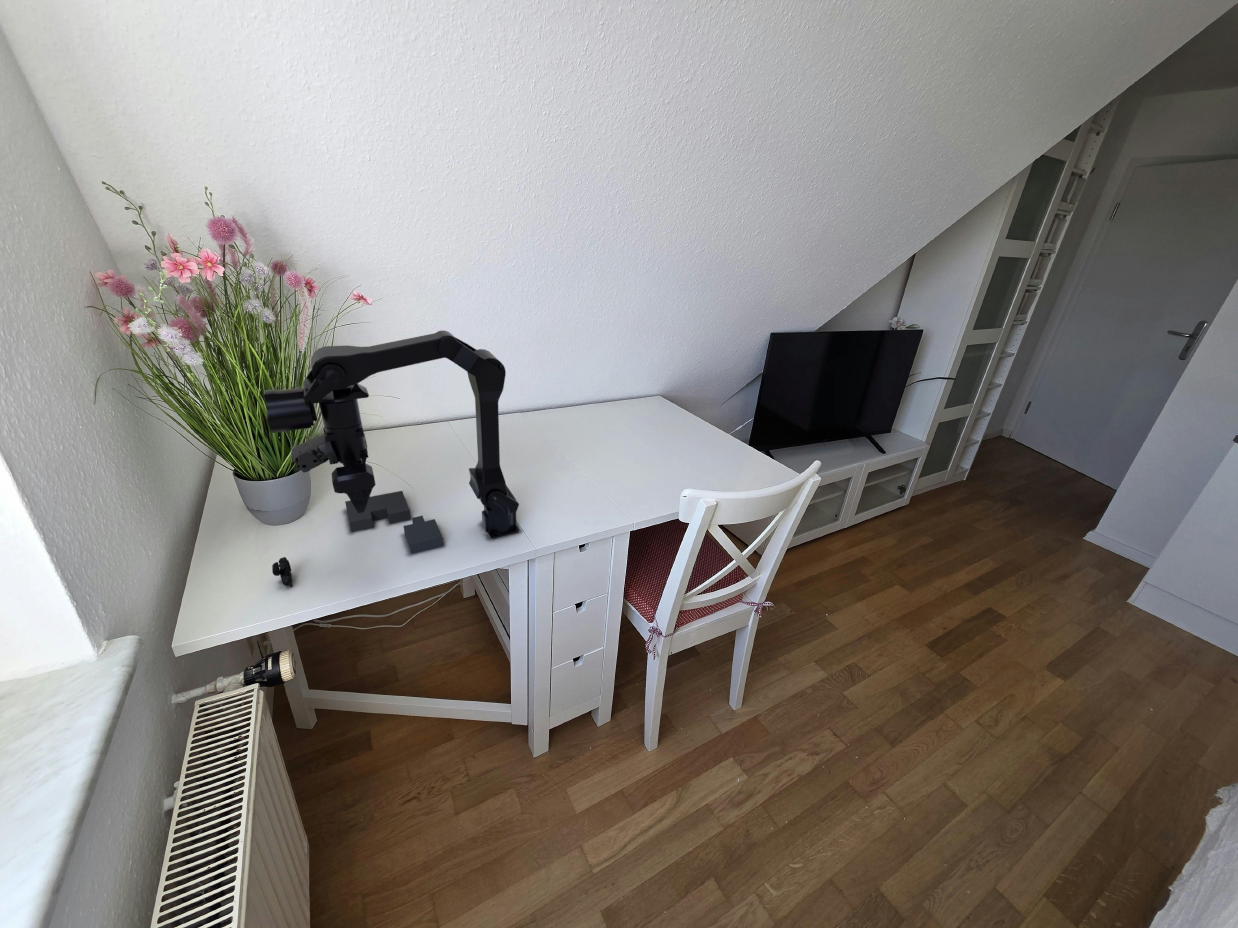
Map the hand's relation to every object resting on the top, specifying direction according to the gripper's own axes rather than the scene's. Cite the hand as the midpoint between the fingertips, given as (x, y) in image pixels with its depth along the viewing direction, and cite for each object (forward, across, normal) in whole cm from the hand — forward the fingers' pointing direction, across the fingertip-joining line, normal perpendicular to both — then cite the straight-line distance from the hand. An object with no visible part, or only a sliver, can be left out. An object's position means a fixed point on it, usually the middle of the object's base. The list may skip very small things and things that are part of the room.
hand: (358, 499), depth 95 cm
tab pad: (+14, -3, +10) cm, 18 cm away
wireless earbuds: (+14, +2, -15) cm, 20 cm away
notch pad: (+14, -15, +3) cm, 21 cm away
